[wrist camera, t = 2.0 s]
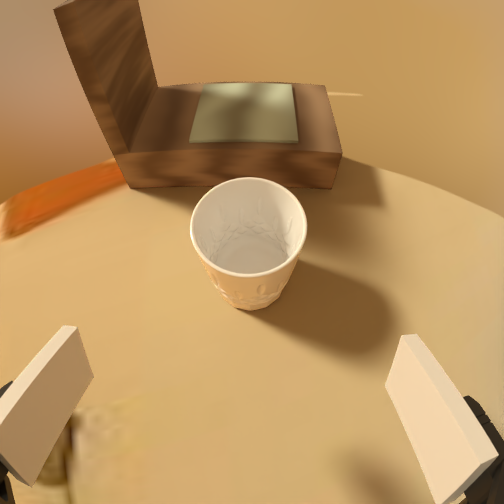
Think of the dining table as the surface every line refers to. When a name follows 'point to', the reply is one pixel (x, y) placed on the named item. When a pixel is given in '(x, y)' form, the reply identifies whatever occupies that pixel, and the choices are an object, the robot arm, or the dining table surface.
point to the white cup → (249, 239)
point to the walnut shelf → (193, 112)
